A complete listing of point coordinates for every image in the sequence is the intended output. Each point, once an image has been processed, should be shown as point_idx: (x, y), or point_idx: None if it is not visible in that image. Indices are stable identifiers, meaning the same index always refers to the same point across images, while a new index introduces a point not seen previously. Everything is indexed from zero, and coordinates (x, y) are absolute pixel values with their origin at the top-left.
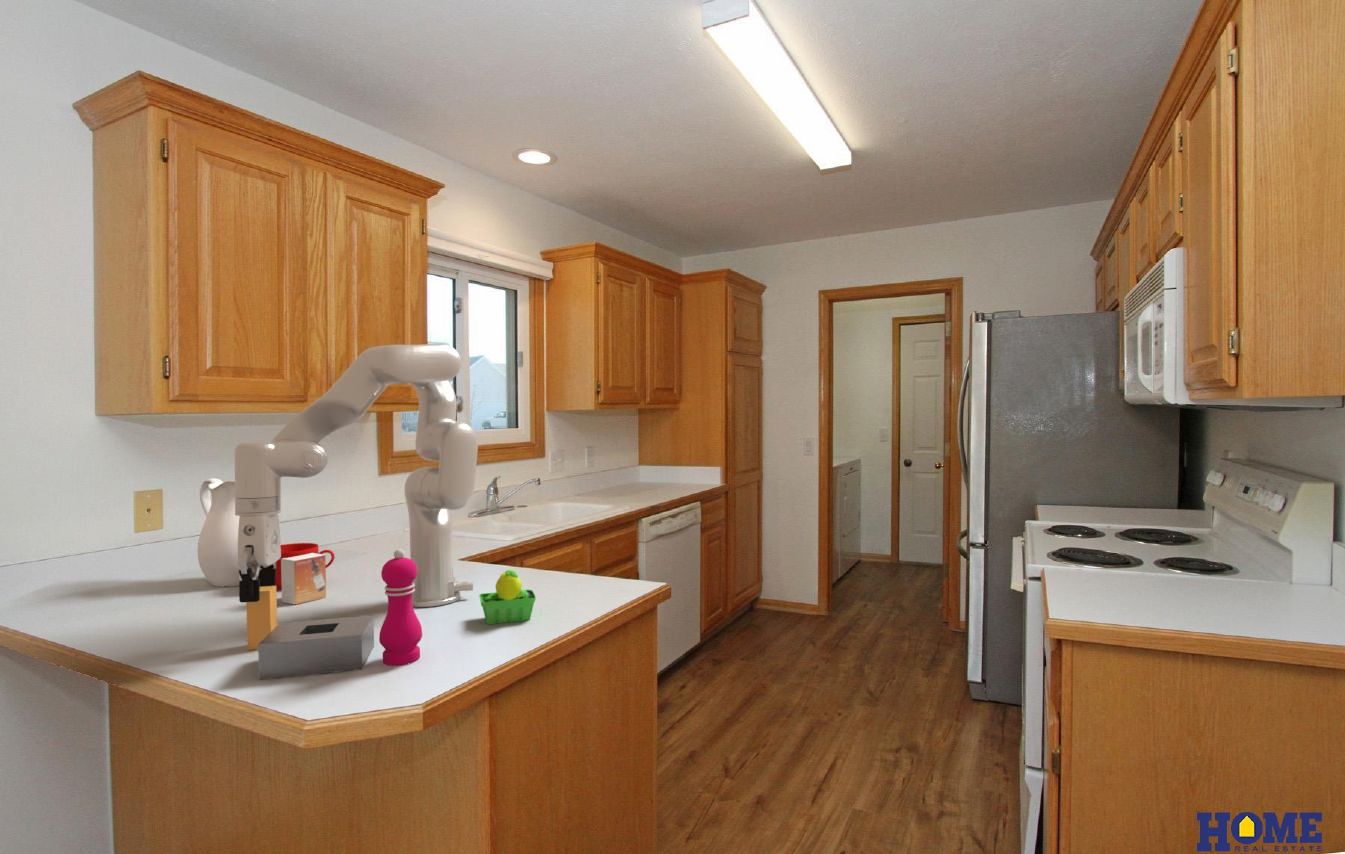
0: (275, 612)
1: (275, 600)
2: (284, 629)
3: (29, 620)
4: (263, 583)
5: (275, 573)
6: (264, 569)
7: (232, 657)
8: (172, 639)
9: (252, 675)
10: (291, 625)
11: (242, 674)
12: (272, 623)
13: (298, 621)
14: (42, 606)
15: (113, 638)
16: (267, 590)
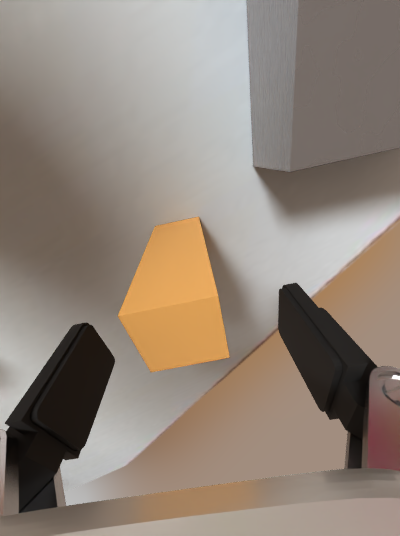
0: (155, 253)
1: (147, 274)
2: (391, 102)
3: (104, 469)
4: (97, 369)
5: (37, 388)
6: (57, 446)
7: (242, 260)
8: (149, 371)
9: (367, 165)
10: (344, 98)
11: (350, 191)
12: (186, 237)
13: (292, 93)
14: (66, 481)
15: (148, 412)
16: (210, 306)
